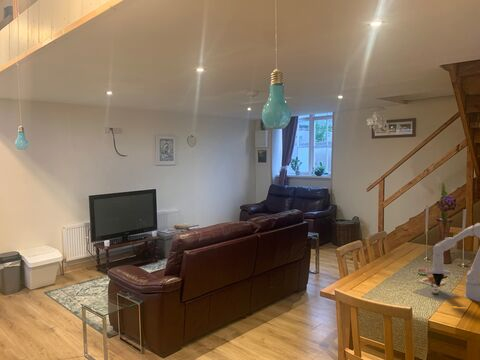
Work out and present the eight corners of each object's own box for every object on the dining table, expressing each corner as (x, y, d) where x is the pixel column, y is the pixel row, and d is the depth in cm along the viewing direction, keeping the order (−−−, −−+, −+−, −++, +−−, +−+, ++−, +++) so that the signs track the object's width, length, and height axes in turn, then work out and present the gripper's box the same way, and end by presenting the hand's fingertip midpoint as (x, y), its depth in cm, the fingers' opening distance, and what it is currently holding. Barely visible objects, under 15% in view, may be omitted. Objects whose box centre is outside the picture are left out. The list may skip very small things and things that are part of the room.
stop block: (434, 282, 237) (434, 275, 237) (436, 284, 233) (436, 277, 233) (427, 282, 238) (427, 274, 238) (429, 284, 234) (429, 276, 234)
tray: (445, 285, 234) (445, 282, 234) (435, 288, 228) (435, 285, 228) (428, 280, 243) (428, 277, 243) (419, 283, 237) (419, 280, 237)
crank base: (458, 296, 215) (458, 294, 215) (441, 303, 206) (441, 301, 205) (428, 287, 230) (428, 285, 230) (411, 293, 221) (411, 291, 221)
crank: (439, 294, 215) (439, 287, 215) (432, 294, 216) (432, 286, 216) (434, 288, 226) (434, 281, 225) (427, 287, 226) (427, 280, 226)
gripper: (447, 261, 226) (446, 283, 227) (423, 261, 227) (422, 283, 228) (453, 265, 219) (452, 287, 220) (428, 265, 220) (428, 287, 221)
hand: (437, 285), depth 224 cm, fingers closed
